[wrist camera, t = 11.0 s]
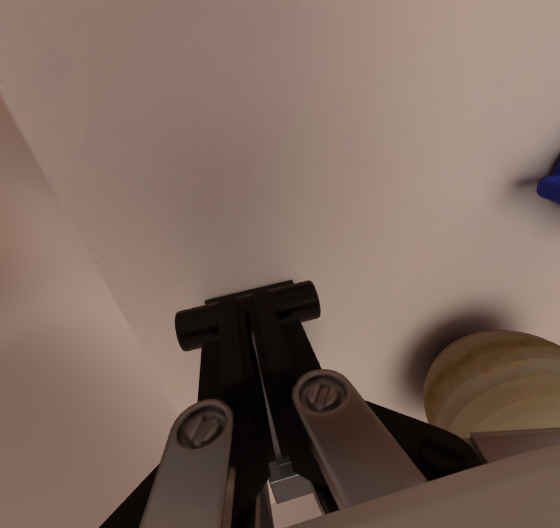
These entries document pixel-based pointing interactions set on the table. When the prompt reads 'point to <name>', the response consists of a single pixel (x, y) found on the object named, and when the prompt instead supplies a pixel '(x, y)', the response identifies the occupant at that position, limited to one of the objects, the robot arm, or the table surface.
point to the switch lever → (205, 327)
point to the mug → (550, 185)
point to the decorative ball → (494, 384)
